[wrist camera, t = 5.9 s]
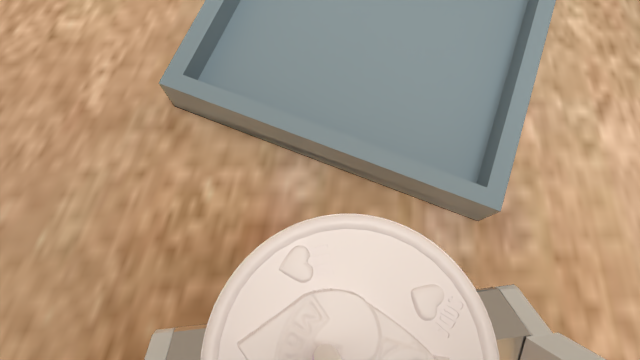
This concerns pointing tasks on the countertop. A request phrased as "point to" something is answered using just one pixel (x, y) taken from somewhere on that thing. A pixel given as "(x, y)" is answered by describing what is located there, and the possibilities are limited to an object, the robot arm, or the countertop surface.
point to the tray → (374, 86)
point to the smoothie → (349, 298)
